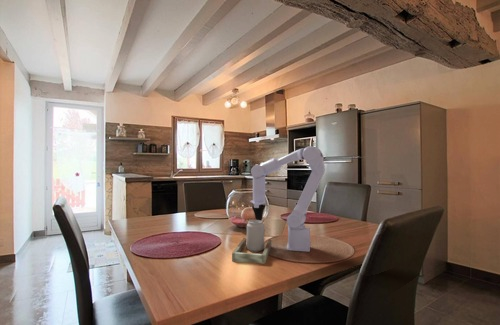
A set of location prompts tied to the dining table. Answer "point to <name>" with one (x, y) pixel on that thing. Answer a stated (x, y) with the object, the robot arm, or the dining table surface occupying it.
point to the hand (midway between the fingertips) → (258, 221)
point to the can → (255, 235)
